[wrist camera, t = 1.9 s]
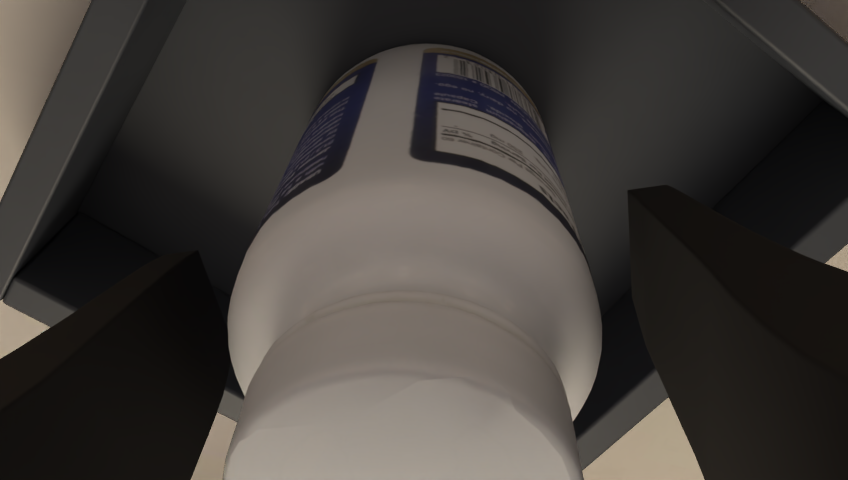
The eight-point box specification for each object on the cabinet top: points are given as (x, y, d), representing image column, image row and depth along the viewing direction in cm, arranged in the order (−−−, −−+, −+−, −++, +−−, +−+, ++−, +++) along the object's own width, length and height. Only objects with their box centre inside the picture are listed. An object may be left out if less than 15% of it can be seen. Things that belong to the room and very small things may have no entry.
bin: (871, 87, 16) (965, 145, 13) (484, 454, 21) (489, 552, 18) (329, -380, 12) (291, -446, 9) (41, 210, 18) (-39, 284, 15)
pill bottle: (346, 277, 18) (249, 675, 10) (276, 69, 16) (59, 358, 7) (564, 238, 17) (670, 633, 9) (528, 12, 15) (627, 259, 6)
